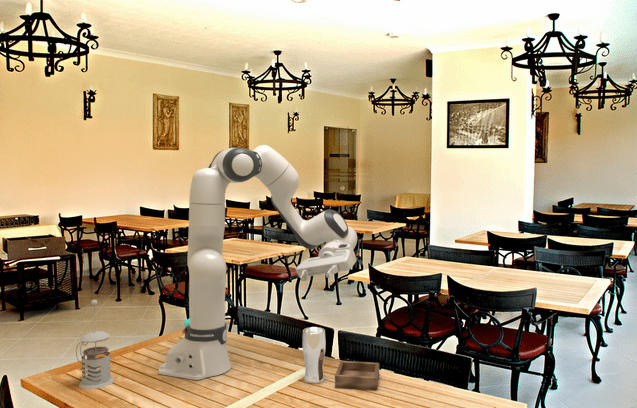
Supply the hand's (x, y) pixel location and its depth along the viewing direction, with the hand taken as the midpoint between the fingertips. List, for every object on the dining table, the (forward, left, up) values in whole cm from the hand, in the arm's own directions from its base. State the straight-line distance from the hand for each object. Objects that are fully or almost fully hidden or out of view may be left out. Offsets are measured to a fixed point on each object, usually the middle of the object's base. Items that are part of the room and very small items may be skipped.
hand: (314, 277), depth 158 cm
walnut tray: (+14, -9, -29) cm, 34 cm away
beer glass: (+1, -10, -29) cm, 31 cm away
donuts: (-46, +13, -29) cm, 56 cm away
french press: (-64, -22, -29) cm, 73 cm away
